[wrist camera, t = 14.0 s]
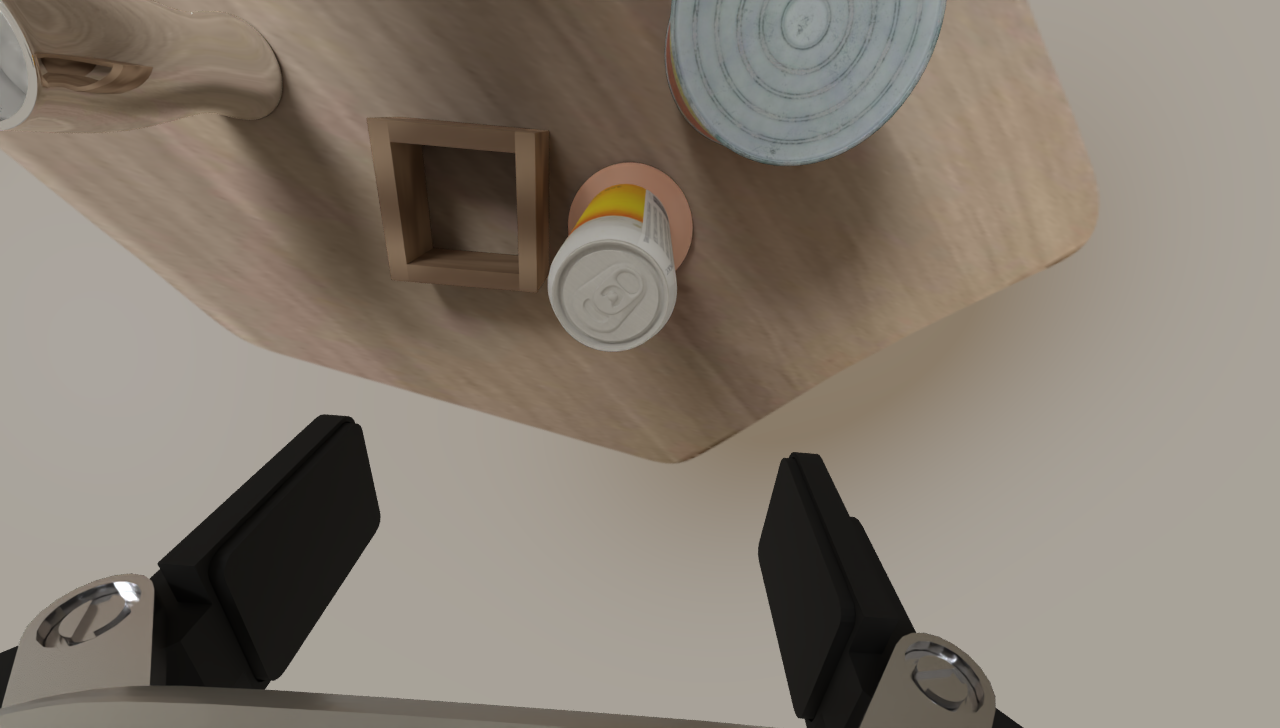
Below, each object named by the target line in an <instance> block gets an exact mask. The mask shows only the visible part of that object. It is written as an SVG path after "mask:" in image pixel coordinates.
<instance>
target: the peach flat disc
mask: <svg viewBox="0 0 1280 728" xmlns="http://www.w3.org/2000/svg"><path fill="white" fill-rule="evenodd" d="M618 184H633V185H638V186H641V187H643V188H645V189H647V190H649V191H650V192H652V193H653V194H654V195H655V196H656V197H657V198H658V199H659V200H660V202H661V203H662V204H663V206H664V208H665V210H666V212H667V215H668V219H669V226H670V234H671V242H672V250H673V257H674V265H675V271H676V270H677V269H678V267H679V266H680V265H681V263H682V262H683V260H684V259H685V257H686V255H687V253H688V250H689V247H690V244H691V239H692V231H693V224H692V216H691V211H690V208H689V205H688V202H687V200H686V198H685V196H684V194H683V192H682V191H681V189H680V188H679V186H678V185H677V184H676V183H675V182H674V180H672V179H671V178H670V177H669V176H668V175H667V174H665V173H664V172H662V171H661V170H659V169H657V168H655V167H652V166H650V165H646V164H642V163H636V162H624V163H617V164H614V165H610V166H608V167H605V168H603V169H601V170H600V171H598V172H596V173H595V174H594V175H592V176H591V177H590V178H589V179H588V180H587V181H586V182H585V183H584V184H583V185H582V186H581V188H580V189H579V191H578V192H577V194H576V196H575V198H574V200H573V202H572V205H571V208H570V212H569V217H568V234H570V233H571V231H572V230H573V228H574V227H575V225H576V224H577V222H578V221H579V219H580V218H581V216H582V214H583V213H584V211H585V210H586V208H587V207H588V205H589V204H590V202H591V201H592V200H593V198H594V197H595V196H596V195H597V194H599V193H600V192H601V191H603V190H604V189H606V188H608V187H610V186H614V185H618Z"/></svg>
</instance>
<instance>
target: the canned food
mask: <svg viewBox="0 0 1280 728" xmlns="http://www.w3.org/2000/svg"><path fill="white" fill-rule="evenodd" d="M946 1H947V0H672V4H671V16H670V20H669V24H668V28H667V34H666V40H665V67H666V74H667V80H668V83H669V87H670V90H671V93H672V96H673V98H674V100H675V102H676V104H677V106H678V108H679V110H680V111H681V113H682V115H683V116H684V117H685V119H686V120H687V121H688V122H689V123H690V124H691V125H692V127H693V128H695V129H696V130H697V131H698V132H699V133H700V134H702V135H703V136H705V137H706V138H708V139H710V140H712V141H713V142H716V143H718V144H721V145H724V146H726V147H727V148H728V149H730V150H732V151H733V152H735V153H737V154H739V155H741V156H743V157H746V158H748V159H750V160H753V161H757V162H760V163H764V164H770V165H777V166H799V165H806V164H812V163H816V162H820V161H824V160H827V159H829V158H832V157H835V156H837V155H839V154H842V153H844V152H846V151H848V150H850V149H851V148H853V147H855V146H857V145H858V144H860V143H861V142H863V141H864V140H866V139H867V138H869V137H870V136H871V135H872V134H874V133H875V132H876V131H877V130H878V129H880V128H881V127H882V126H883V125H884V124H885V123H886V122H887V121H888V120H889V119H890V118H891V117H892V116H893V115H894V114H895V113H896V112H897V110H898V109H899V108H900V107H901V106H902V104H903V103H904V102H905V101H906V99H907V98H908V97H909V95H910V94H911V92H912V91H913V89H914V88H915V86H916V85H917V83H918V81H919V80H920V78H921V76H922V74H923V72H924V71H925V69H926V67H927V64H928V62H929V60H930V58H931V56H932V53H933V51H934V48H935V45H936V43H937V40H938V37H939V33H940V30H941V26H942V23H943V18H944V13H945V8H946Z"/></svg>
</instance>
